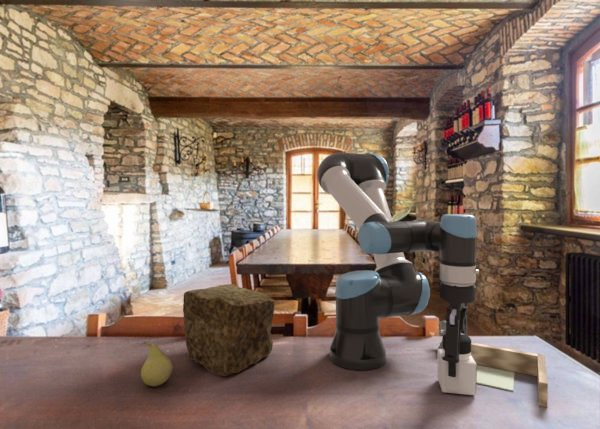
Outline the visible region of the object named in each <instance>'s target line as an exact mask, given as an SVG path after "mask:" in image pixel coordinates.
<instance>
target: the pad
mask: <svg viewBox="0 0 600 429" xmlns="http://www.w3.org/2000/svg"><path fill="white" fill-rule="evenodd" d="M515 374H516V372H513V371H508V370H503V369H498V368H493V367H488V366H483V365H478V364H477V377H476V385H477V384H478V385H482V386H487V387H491V388H495V389H496V388H497V389H500V390H505V391H508V392H514V386H515Z"/></svg>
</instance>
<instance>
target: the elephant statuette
mask: <svg viewBox="0 0 600 429" xmlns="http://www.w3.org/2000/svg"><path fill="white" fill-rule="evenodd" d="M439 328H440V330H439V332H438V334H439V336H441V337H442V339H441V341H440V342H439V346H438V349H442V340H443V335H444V334H445V333H446V320H441V321H440V322H439ZM438 349H437V350H438Z"/></svg>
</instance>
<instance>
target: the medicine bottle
mask: <svg viewBox="0 0 600 429" xmlns="http://www.w3.org/2000/svg"><path fill="white" fill-rule="evenodd" d="M442 338H443V340H442V339H441V342H442V349H437V363H436V364H437V369H436V370H437V375H436V377H437V380H438V382H439V386H440V390H441V392H442V393H447V394H455V395H456V394H458V395H465V396H466V395H467V396H476V395H477V383H476V377H477V365H478V364H476V362H475V361H474V359H473V357H472V356H471V342H472V338H470V336H468V334H467V335H465V334H462V333H461V337H460V350H459V361H460V385H459V392H458V391H454V390H450V389H446V361H445V360H442V357H444V356H445V338H446V333H445V334H444V335H443V336H442Z"/></svg>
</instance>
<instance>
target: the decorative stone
mask: <svg viewBox="0 0 600 429" xmlns="http://www.w3.org/2000/svg"><path fill="white" fill-rule="evenodd" d="M182 300H183V304H182V305H183V306H182V311H183V312H182V314H183V328H184V336H185V346H186V350H187V351H188V352H187V354H188V355H187V357H188V359H189V360H193V361H195V362H196V363H197V364H198V365H202V366H203V367H204V368H205V369H206V370H208V372H209V373H213V374H216V375H219V376H223V377H228V376H229V375H231V374H234V373H239V372H241V371H243V370H245V369H247V368H248V367H249V366H250V365H254V364H257V363H258V362H259V361H260V360H261V359H263V358H265V357H269V356H270V355H271V352H272V350H273V345H274V342H273V341H274V340H273V335H272V333H271V330H272V324H273V319H274V316H275V314H274V313H275V300H274V299H273V297H272V298H271V297H270V296H269V295H267V294H266V293H262V292H258V291H255V290H252V289H248V288H245V287H241V286H239V285H237V284H234V283H231V284H222V285H216V286H211V287H206V288H199V289H192V290H187V291H184V293H183V299H182Z"/></svg>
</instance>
